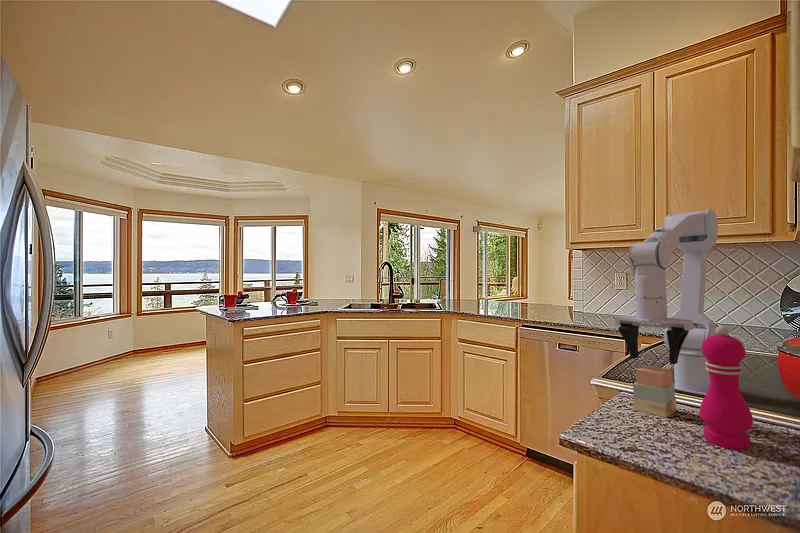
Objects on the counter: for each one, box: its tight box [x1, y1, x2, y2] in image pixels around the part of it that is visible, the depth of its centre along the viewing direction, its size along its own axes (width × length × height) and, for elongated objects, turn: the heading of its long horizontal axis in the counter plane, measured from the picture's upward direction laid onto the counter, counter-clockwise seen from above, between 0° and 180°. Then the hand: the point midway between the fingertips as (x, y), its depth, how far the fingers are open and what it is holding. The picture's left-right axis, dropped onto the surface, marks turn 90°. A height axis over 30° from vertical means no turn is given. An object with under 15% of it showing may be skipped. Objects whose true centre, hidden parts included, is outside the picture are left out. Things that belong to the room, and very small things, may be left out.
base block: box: [633, 397, 678, 418], centre depth 86 cm, size 6×6×3 cm
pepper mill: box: [699, 325, 754, 450], centre depth 70 cm, size 7×7×20 cm
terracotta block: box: [635, 365, 673, 388], centre depth 86 cm, size 5×5×3 cm
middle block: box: [632, 381, 676, 404], centre depth 86 cm, size 6×6×3 cm
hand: (653, 360), depth 87 cm, fingers open, 7 cm apart
